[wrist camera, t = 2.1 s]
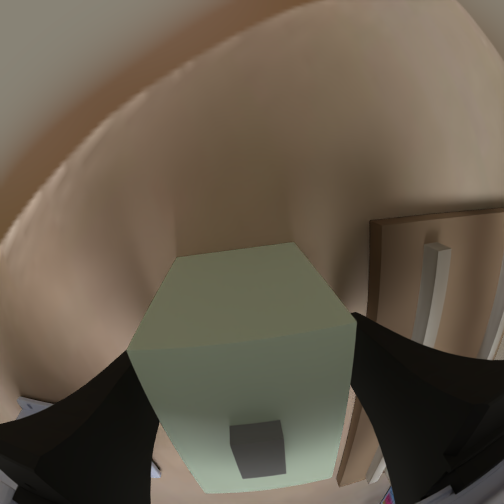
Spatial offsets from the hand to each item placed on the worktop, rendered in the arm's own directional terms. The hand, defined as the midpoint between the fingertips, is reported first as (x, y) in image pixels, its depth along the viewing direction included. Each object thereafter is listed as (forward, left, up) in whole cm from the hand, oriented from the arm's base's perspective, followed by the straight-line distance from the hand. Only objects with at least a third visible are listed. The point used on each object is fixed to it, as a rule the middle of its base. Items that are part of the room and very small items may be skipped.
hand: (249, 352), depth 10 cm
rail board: (+11, -7, -2) cm, 14 cm away
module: (0, 0, -2) cm, 2 cm away
